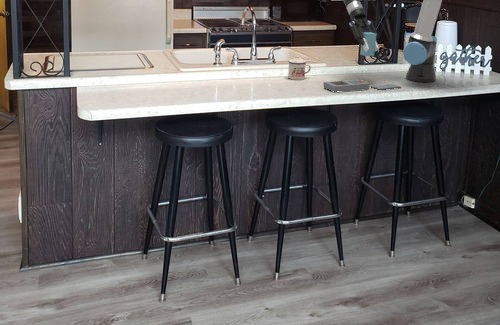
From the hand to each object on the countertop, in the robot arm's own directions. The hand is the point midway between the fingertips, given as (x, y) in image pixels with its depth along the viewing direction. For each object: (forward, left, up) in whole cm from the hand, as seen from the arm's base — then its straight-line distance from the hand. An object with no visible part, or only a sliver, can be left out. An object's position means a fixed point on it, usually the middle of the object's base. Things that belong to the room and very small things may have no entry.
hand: (372, 49), depth 322 cm
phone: (-3, +10, -18) cm, 21 cm away
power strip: (+17, +5, -17) cm, 25 cm away
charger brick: (0, -4, -3) cm, 5 cm away
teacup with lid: (+27, -24, -18) cm, 40 cm away
